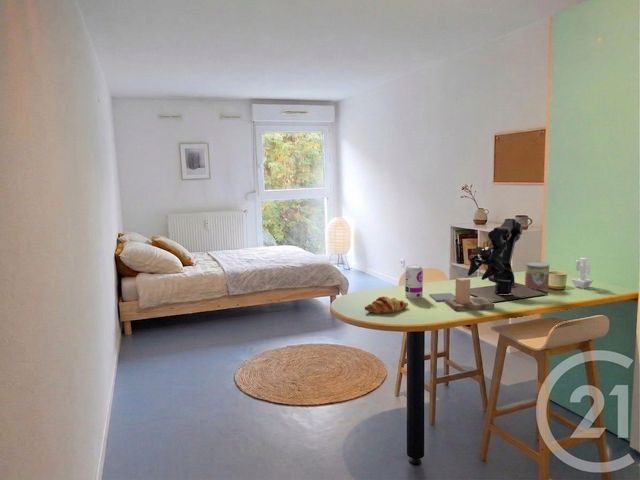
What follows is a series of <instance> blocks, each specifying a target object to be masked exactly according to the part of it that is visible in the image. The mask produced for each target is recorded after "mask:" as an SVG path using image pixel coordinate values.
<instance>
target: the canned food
mask: <svg viewBox="0 0 640 480" xmlns="http://www.w3.org/2000/svg"><path fill="white" fill-rule="evenodd" d="M524 274H525V275H524V287H525V286H527V287H531V288H535V289H534V290H536V289H539V290H538V291H541V290H542V291H543V290H549V288H548V287H549V285H548V284H549V282H550V264H549V263H546V262H542V261H539V262H538V261H531V262H530V261H529V262H526V263H525V273H524Z"/></svg>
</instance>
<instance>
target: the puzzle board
mask: <svg viewBox="0 0 640 480" xmlns="http://www.w3.org/2000/svg"><path fill="white" fill-rule="evenodd" d="M444 304H446V305H447V306H448V307H450V308H451V310H453V311H472V310H473V311H477V310H495V303H493V302H491V301H490V300H488V299H487V298H485V297H483V296H476V297H470V304H457V303H456V302H455V298H451V299H445V301H444Z"/></svg>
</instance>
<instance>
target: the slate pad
mask: <svg viewBox="0 0 640 480" xmlns="http://www.w3.org/2000/svg"><path fill="white" fill-rule="evenodd" d="M428 295H429V297H430V298H431V299H432V300H434V301H435V302H445V299H451V298H455V294H454V293H452V292H444V293H429V294H428Z"/></svg>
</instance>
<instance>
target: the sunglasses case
mask: <svg viewBox="0 0 640 480" xmlns="http://www.w3.org/2000/svg"><path fill="white" fill-rule="evenodd" d="M487 279H488V281H493V282H494V275H493V276H491V277H488V278H487ZM514 285H519V283H517V282H515V281H514V283H512V284H511V286H514Z"/></svg>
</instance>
